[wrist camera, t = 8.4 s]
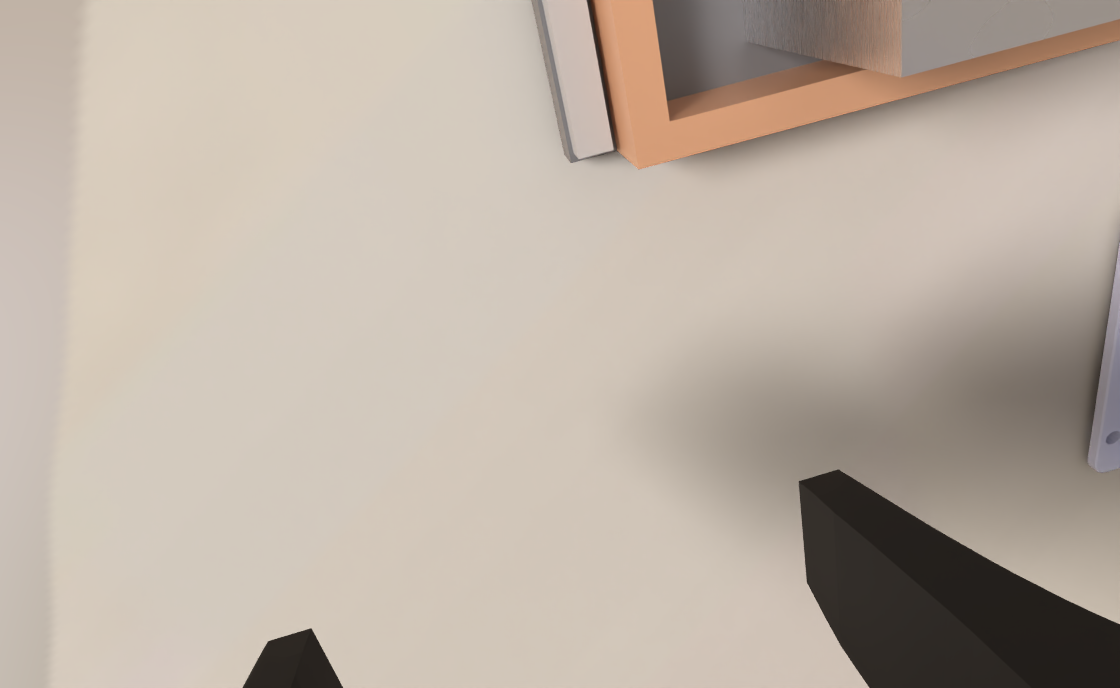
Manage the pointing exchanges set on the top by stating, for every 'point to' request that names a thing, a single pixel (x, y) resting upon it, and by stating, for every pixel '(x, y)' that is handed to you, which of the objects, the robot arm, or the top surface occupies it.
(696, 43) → the frame
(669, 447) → the top surface
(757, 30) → the brushed metal cube
